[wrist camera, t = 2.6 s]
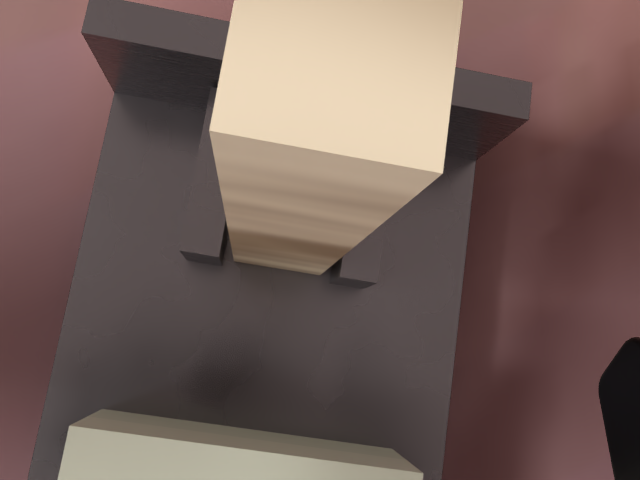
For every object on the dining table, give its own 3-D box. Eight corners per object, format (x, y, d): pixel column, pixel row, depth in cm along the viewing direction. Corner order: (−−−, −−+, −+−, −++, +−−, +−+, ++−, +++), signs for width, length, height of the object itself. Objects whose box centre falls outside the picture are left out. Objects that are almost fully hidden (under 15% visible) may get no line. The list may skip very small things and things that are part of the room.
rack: (397, 717, 17) (458, 874, 12) (-1, 680, 16) (-112, 835, 11) (464, 125, 20) (534, 57, 15) (136, 62, 19) (96, -33, 14)
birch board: (320, 275, 17) (442, 173, 6) (233, 261, 17) (209, 130, 6) (339, 144, 18) (480, -149, 7) (257, 129, 18) (272, -198, 7)
